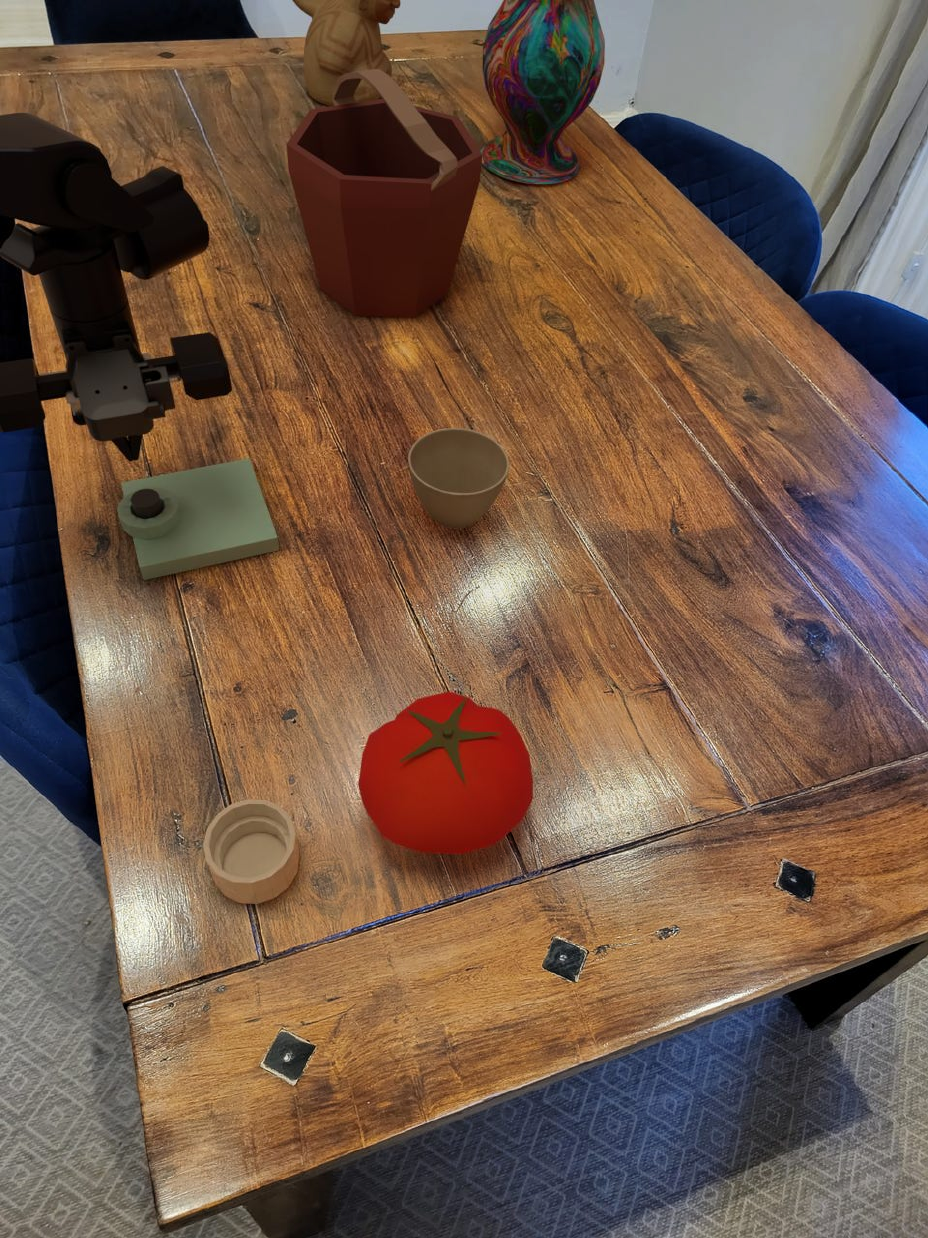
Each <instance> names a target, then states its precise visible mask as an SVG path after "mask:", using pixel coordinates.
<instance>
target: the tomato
mask: <svg viewBox="0 0 928 1238" xmlns="http://www.w3.org/2000/svg"><path fill="white" fill-rule="evenodd" d="M532 770H533V769H532V764H531V756H530V753H529V751H528V748H527V746H526V743H525V741H524V739H523V737H522V734H521V733H520V731H519V730H518V729H517V726H515V724H514V723H513V722H512V720H511V718H510V717H509V716H507V715H506V714H505V713H504V712H503V711H502V710H501V709H497V708H495V707H490V706H482V705H481V706H480V705H478V704H477V703H476V702H475V701H474V700H473V699H471V698H470V697H468V696H466V695H462V694H459V693H456V692H452V691H450V690H449V691H444V692H441V693H436V694H432V695H428V696H427V695H426V696H424V697H419V698H416V699H415V700H414V701H413V702H411V704H409V705H407V706H406V707H405V708H404V709H403V710H401V711H400V712H399V713H397V714H396V716H395V718H394V719H393V720H390V721H388V722H385V723H383V724H382V725H381V726H379V727H378V728H377V729H376V730H373V732H371V733H370V734H368V738H367V740H366V743H365V746H364V748H363V751H362V754H361V760H360V770H359V775H358V782H357V787H358V790H359V794H360V798H361V802H362V805H363V808H364V809H365V811H366V813H367V815H368V816H369V818H370V820H371V821H372V823H373V824H374V826H375V828H376V829H377V830H378V832H379V833H380V835H381V836H382V837H383V838H385V839H386V840H388V841H390V842H391V843H393V844H395V845H398V846H400V847H403V848H404V849H405V848H406V849H408V850H412V851H415V852H419V853H420V854H433V855H435V854H439V855H465V854H468V853H472V852H475V851H479V850H481V849H485V848H489V847H492V846H495V845H497V843H499V842H500V841H501V840H502V839H503V838H504V837H506V836H507V835H508V834H509V833H510V832H512V831H513V830H514V829H515V828H516V827H517V826H519V825H520V824H521V823H522V821H523V820H524V818H525V817H526V816H527V813H528V811H529V808H530V806H531V804H532V802H533V799H534V778H533V771H532Z"/></svg>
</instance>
